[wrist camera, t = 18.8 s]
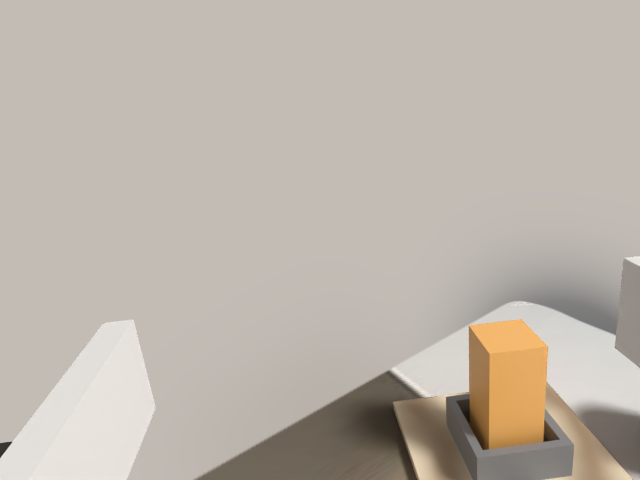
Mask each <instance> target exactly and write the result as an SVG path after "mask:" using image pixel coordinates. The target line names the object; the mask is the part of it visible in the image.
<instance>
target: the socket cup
mask: <svg viewBox="0 0 640 480" xmlns="http://www.w3.org/2000/svg"><path fill="white" fill-rule="evenodd" d="M446 423H447V426H448V428H449V430H450V432H451V434H452V437H453V439H454V441H455V443H456V445H457V447H458V449H459V451H460V453H461V456H462V458H463V460H464V462H465V464H466V466H467V468H468V470H469V472H470V474H471V477H472V479H473V480H545V479H552V478H560V477H567V476H572V469H573V456H574V444H573V443H572V441H571V440H570V439H569V438H568V436H567V435H566V434H565V433H564V431H563V430H562V429H561V428H560V426H559V425H558V424H557V423H556V421H555V420H554V419H553V418H552V416H551V415H550V414H549V413H548V411H547V410H546V409H545V417H544V437H543V442H539V443H532V444H525V445H517V446H510V447H503V448H495V449H488V450H482V448H481V446H480V444H479V442H478V440H477V439H476V437H475V435H474V433H473V431H472V429H471V428H470V394H464V395H456V396H449V397H446Z"/></svg>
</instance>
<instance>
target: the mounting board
mask: <svg viewBox="0 0 640 480" xmlns="http://www.w3.org/2000/svg"><path fill="white" fill-rule="evenodd" d="M464 394H469V392H465V393H457V394H450V395H442V396H435V397H427V398H420V399H412V400H404V401H397V402H393V407H394V412H395V415H396V418H397V421H398V424H399V427H400V430H401V433H402V436H403V439H404V442H405V445H406V448H407V451H408V454H409V457H410V460H411V463H412V466H413V469H414V472H415V475H416V478H417V480H473V479H472V477H471V474H470V472H469V470H468V468H467V466H466V464H465V462H464V460H463V458H462V456H461V453H460V451H459V449H458V447H457V445H456V443H455V441H454V439H453V437H452V434H451V432H450V430H449V428H448V426H447V423H446V397H449V396H456V395H464ZM545 409H546V410H547V411H548V413H549V414H550V415H551V416H552V418H553V419H554V420H555V421H556V423H557V424H558V425H559V426H560V428H561V429H562V430H563V431H564V433H565V434H566V435H567V436H568V438H569V439H570V440H571V441H572V443H573V444H574V456H573V469H572V476H567V477H560V478H552V479H545V480H633V479H632V478H631V477H630V476H629V475H628V473H627V472H626V471H625V470H624V469H623V468H622V467H621V466H620V464H619V463H618V462H617V461H616V460H615V459H614V458H613V456H612V455H611V454H610V453H609V452H608V451H607V450H606V448H605V447H604V446H603V445H602V444H601V443H600V442H599V441H598V439H597V438H596V437H595V436H594V435H593V434H592V433H591V431H590V430H589V429H588V428H587V427H586V426H585V425H584V424H583V422H582V421H581V420H580V419H579V418H578V417H577V416H576V414H575V413H574V412H573V411H572V410H571V409H570V408H569V406H568V405H567V404H566V403H565V402H564V401H563V400H562V399H561V397H560V396H559V395H558V394H557V393H556V392H555V391H554V389H553V388H552V387H551V386H550V385H549V384H548V383H547V382H546V397H545Z"/></svg>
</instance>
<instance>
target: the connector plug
mask: <svg viewBox="0 0 640 480" xmlns="http://www.w3.org/2000/svg"><path fill="white" fill-rule="evenodd" d="M547 356H548V346H547V345H546V344H545V343H544V342H543V341H542V340H541V339H540V338H539V337H538V336H537V335H536V334H535V333H534V332H533V331H532V330H531V329H530V328H529V327H528V326H527V325H526V324H525V323H524V322H523V321H522V320H521V319H519V320H511V321H502V322H494V323H486V324H478V325H469V394H470V428H471V429H472V431H473V433H474V435H475V437H476V439H477V440H478V442H479V444H480V446H481V448H482V450H488V449H495V448H503V447H510V446H517V445H525V444H532V443H539V442H543V437H544V417H545V397H546V376H547Z"/></svg>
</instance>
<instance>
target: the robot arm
mask: <svg viewBox="0 0 640 480" xmlns="http://www.w3.org/2000/svg"><path fill="white" fill-rule="evenodd" d="M615 348H616V349H617V350H618V351H620V352H621V353H622V354H623V355H625V356H626V357H627V358H628V359H630V360H631V361H632V362H633V363H635V364H636V365H637V366H638V367H640V256H637V257H629V258H624V262H623V272H622V282H621V292H620V302H619V312H618V322H617V332H616V342H615ZM154 411H155V404H154V400H153V396H152V392H151V388H150V384H149V380H148V376H147V372H146V368H145V364H144V360H143V356H142V352H141V348H140V345H139V340H138V336H137V332H136V328H135V325H134V320H133V319H132V320H124V321H116V322H108V323H103V325H102V326H101V327H100V328H99V330H98V331H97V332H96V334H95V335H94V336H93V338H92V339H91V340H90V342H89V343H88V344H87V345H86V347H85V348H84V349H83V351H82V352H81V353H80V355H79V356H78V357H77V359H76V360H75V361H74V362H73V364H72V365H71V366H70V368H69V369H68V370H67V372H66V373H65V374H64V376H63V377H62V378H61V380H60V381H59V382H58V383H57V385H56V386H55V387H54V389H53V390H52V391H51V392H50V394H49V395H48V396H47V398H46V399H45V400H44V402H43V403H42V404H41V406H40V407H39V408H38V410H37V411H36V412H35V414H34V415H33V416H32V417H31V419H30V420H29V421H28V423H27V424H26V425H25V427H24V428H23V429H22V430H21V432H20V433H19V434H18V436H17V437H16V438H15V440H14V441H13V442H6V443H0V480H127V478H128V475H129V473H130V470H131V468H132V465H133V463H134V460H135V458H136V455H137V453H138V450H139V448H140V445H141V443H142V441H143V438H144V436H145V433H146V430H147V428H148V426H149V423H150V420H151V418H152V416H153V413H154Z"/></svg>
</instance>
